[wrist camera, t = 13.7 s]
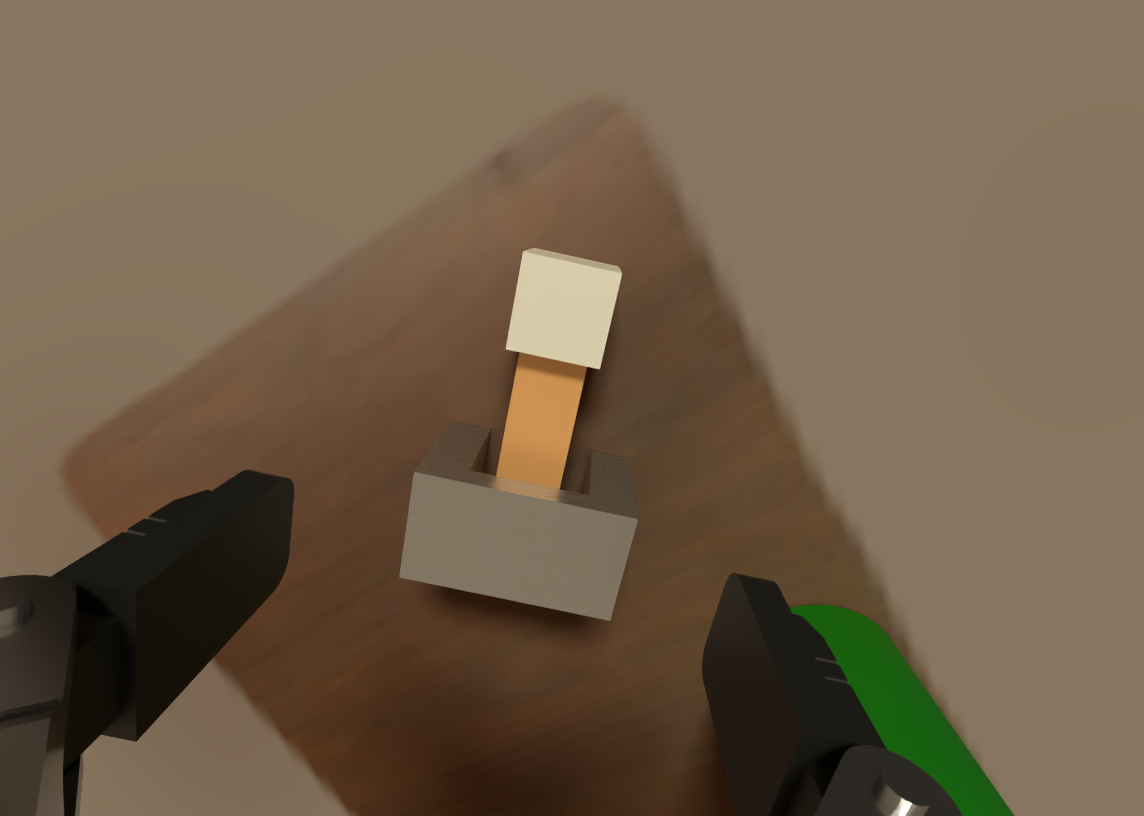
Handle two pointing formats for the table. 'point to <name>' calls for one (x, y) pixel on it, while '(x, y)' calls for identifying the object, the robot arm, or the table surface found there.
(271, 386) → the table surface
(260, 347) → the table surface
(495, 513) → the block
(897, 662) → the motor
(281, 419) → the table surface
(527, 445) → the plug
